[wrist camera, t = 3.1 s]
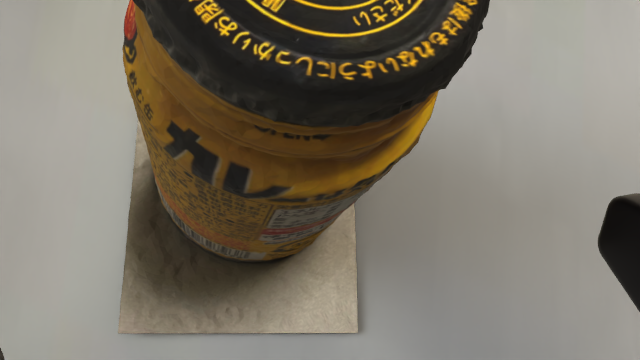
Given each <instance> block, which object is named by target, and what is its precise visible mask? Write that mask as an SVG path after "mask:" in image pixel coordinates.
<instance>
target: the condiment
mask: <svg viewBox="0 0 640 360" xmlns="http://www.w3.org/2000/svg"><path fill="white" fill-rule="evenodd" d="M489 2H490V0H130V2H129V5H128V8H127V12H126V16H125V21H124V37H125V38H124V45H123V62H124V67H125V73H126V75H127V84H128V87H129V90H130V93H131V96H132V98H133V101H134V105H135V109H136V112H137V116H138V128H137V137H136V151H135V161H134V169H133V182H132V191H131V203H130V210H129V219H128V234H127V244H126V256H125V265H124V277H123V286H122V296H121V305H120V318H119V329H118V333H357V332H358V325H357V287H356V279H357V267H356V233H355V209H354V203H355V201H356V200H357V199H358V198H359V197H360V196H361V195H363V194H364V193H365V192H367V191H368V190H369V189H370V188H371V187H372V185H373V184H374V183H375V182H377V181H378V180H380V179H381V178H382V177H383V176H384V175H385V174H387V173H388V172H389V171H390V169H391V168H392V167H393V165H395V164H396V163H397V162H398V161H399V160H400V159H401V158H403V157H404V156H406V155H407V154H409V153H410V151H411V150H412V148H413V147H414V146H415V145H416V144H417V143H418V141H419V138H420V135H421V133H422V131H423V129H424V127H425V125H426V124H427V122H428V121H429V119H430V117H431V114H432V111H433V108H434V104H435V101H436V97H437V94H438V91H439V90H440V89H445V88H446V87H447V85H448V84H449V82H450V81H451V79H452V77H453V76H454V75H455V74H456V73H457V72H458V70H459V69H460V68H461V67H462V66H463V64H464V62H465V61H466V60H467V59H468V57H469V56H470V55H471V52H472V46H473V45H474V43H475V41H476V39H477V35H478V31H480V30H481V29H483V25H482V22H483V20H484V18H485V17H486V15H487V13H488V8H489Z"/></svg>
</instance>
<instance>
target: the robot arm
mask: <svg viewBox="0 0 640 360" xmlns="http://www.w3.org/2000/svg"><path fill="white" fill-rule="evenodd" d="M598 248H599V251H600V253H601V255H602V257H603V258H604V260H605V261H606V263H607V264H608V266H609V267H610V269H611V270H612V272H613V273H614V275H615V276H616V278H617V279H618V281H619V282H620V283H621V285H622V286H623V288H624V289H625V291H626V292H627V294H628V295H629V297H630V298H631V300H632V301H633V303H634V304H635V306H636V307H637V309H638V310H639V312H640V194H629V195H624V196H618V197H616V198H614V199H612V201H611V202H610V203H609V205H608V208H607V211H606V214H605V218H604V221H603V224H602V227H601V230H600V234H599V237H598ZM0 360H4V356H3V353H2V351H1V348H0Z"/></svg>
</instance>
